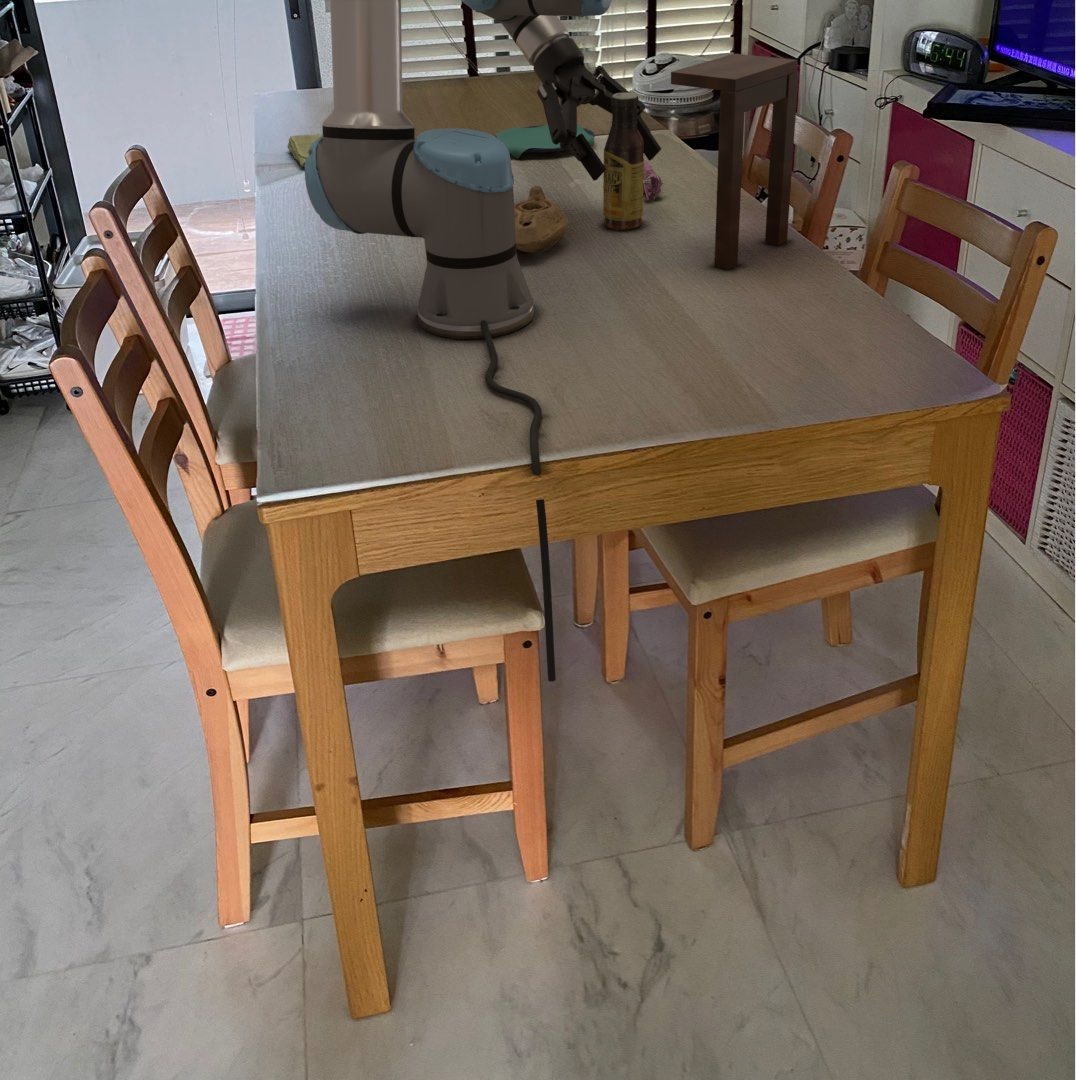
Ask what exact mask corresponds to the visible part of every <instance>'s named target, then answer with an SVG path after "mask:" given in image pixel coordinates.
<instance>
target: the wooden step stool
mask: <svg viewBox="0 0 1076 1080" xmlns="http://www.w3.org/2000/svg"><path fill="white" fill-rule="evenodd" d="M799 73H800V72H799V71H798V59H792V58H780V57H773V56H772V57H771V56H762V55H752V54H741V53H731V54H728V55H724V56H720V57H717V58H715V59H711V60H707V61H704V62H699V63H697V64H693V65H690V66H686V67H683V68H680V69H677V70H676V69H675V70H673V71H670V85H674V86H683V87H691V88H699V89H706V90H715V91H720V94H719V95H720V96H719V123H718V149H717V150H718V151H717V155H718V156H717V182H716V207H715V209H716V210H715V237H714V261H713V263H714V264H713V266H714V268H718V269H721V270H726V271H729V270H731V269H733V268H736V267H737V266H738V263H739V240H740V219H741V218H740V217H741V199H742V177H743V175H742V174H743V154H744V135H745V133H744V131H745V113H747V112H749V111H752V110H756V109H759V108H760V107H764V106H767V105H769V104H772V115H771V130H770V131H771V132H770V149H769V165H768V166H769V167H768V181H767V182H768V183H767V185H768V186H767V197H766V198H767V201H766V219H765V236H764V237H765V238H764V243H765V244H769V245H773V246H781V245H783V244H784V243H787V242H788V234H789V219H790V218H789V217H790V204H791V188H792V175H793V173H792V172H793V160H794V146H795V145H794V144H795V132H796V130H795V129H796V115H797V103H798V101H797V100H798V89H799Z"/></svg>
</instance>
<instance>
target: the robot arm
mask: <svg viewBox="0 0 1076 1080" xmlns="http://www.w3.org/2000/svg"><path fill="white" fill-rule="evenodd" d="M461 2H462V3H463V4H464V5H466V6H467V7H469V9H471V10H472V11H475V12H476V13H477V14H478V13H479V14H482V15H485V16H487V17H489V18H491V19H493V20H495V21H497V22H499V23H500V24H501V25H502V26H503V28H504V29H505V30H506V32H507V33H508V34H509V36H510V38H511V39H512V40H513V42H514V43H515V45H516V46H517V48H519V50H520V52H521V53H522V54H523V56H524V57H525V59H526V61H527V62H528V64H529V65H530V66H532V67H533V68H532V69H533V72H534V73H535V75H536V76H537V78H538V79H539V80H540V82H541V83H542V84H541V85H540V86H539V88H538V89H537V91H536V95H537V96H538V98H539V100H540V101H541V103H542V106H543V110H544V115H545V118H546V119H545V120H546V123H547V125H548V127H549V131H550V135H551V139H552V142H553V143H554V144H556V145H557V144H559V143H560V147H561V148H563V149H565V148H566V147H567V146H568V147H569V148H570V149H569V150H570V151H571V153H572V154H573V156H574V158H576V160H577V161H578V162H580V163H581V165H582V166H583V168H584V169H585V171H586V173H588V175H589V176H590V178H591V179H592V181H593V182H595V181H597V180H598V179H599V178H600V177H601V176H602V175H603V174H604V171H605V170H606V167H605V166H604V162H603V161H602V160H601V158H600V157H599V156H598V154H597V152H596V151H595V150H594V148H593V146H592V145H590V144H589V142H588V141H587V140H586V138H585V137H584V135H583V134H579V135H578V136H576V135H577V125H578V107H580V106H581V105H588V104H589V105H591V106H598V107H599V108H601V109H603V110H604V111H606V112H608V113H609V114H611V115H612V105H611V97H612V95H614V94H616V93H631V92H630V91H629V90H627V88H625V87H624V86H623V85H621V83H619V82H618V81H617V80H615V79H614V78H613V77H612V76H611V75H610V74H609V73H608V71H606V69H605V68H604V67H603V66H602V65H600V64H599V65H597V66H596V68H595V69H594V70H592V71H590V70H589V69H588V68H587V67H586V66H585V55H584V53H583V51H582V50H581V48H580V47H579V46H578V44H577V43H576V41H575V40H574V39H573V37H570V36H571V35H570V32H569V30H568V28H566V26H565V25H564V23H563V22H562V21H561V19H560V17H579V18H584V17H594V16H602V15H605V14H606V13H607V11H608V10H609V8H610V7H611V4H612V0H461ZM329 5H330V7H329V8H330V9H329V10H330V34H331V37H330V38H331V62H332V63H331V64H332V96H333V109H332V111H331V113H330V114H329V115H328V116H327V117H326V118H325V119H324V120H323V121H322V123H321V128H322V134H323V136H322V137H320V138H318V139H317V140H315V141H314V142H313V143H312V144H311V146H310V148H309V150H308V153H309V156H308V157H306V161H305V167H304V182H305V188H306V192H307V195H308V199H309V201H310V204H311V205H312V208H313V210H314V211H315V213H316V214H317V215H318V216H319V217H320V219H321V221H322V222H323V223H324V224H326V225H327V226H329V227H330V228H331V229H332V228H333V229H336V230H339V231H346V232H351V233H354V234H356V235H365V234H376V235H387V236H398V237H409V238H420V239H423V240H424V247H425V248H424V249H425V257H426V267H425V272H424V275H423V279H422V280H423V281H422V285H421V289H420V294H419V299H418V303H417V318H418V323H419V326H420V327H421V328H422V329H423V330H425V331H426V332H429V333H430V334H433V335H435V336H440V337H443V338H450V339H451V338H452V339H461V340H462V339H465V340H468V339H471V340H473V339H483V338H484V342H485V344H486V347H487V350H488V353H489V357H490V364H489V365H488V368H487V370H486V372H485V374H484V379H485V380H484V382H485V383H486V385H487V386H488V387H489V388H490V389H491V391H493V392H496V393H497V394H499V395H503V396H506V397H509V398H513V399H515V400H519V401H521V402H523V403H525V404H527V405H529V406H530V407H531V408H532V410H533V416H532V417H533V418H532V420H531V424H530V428H529V448H530V458H531V468H532V470H531V471H532V475H533V476H540V475H541V474H542V470H541V468H542V467H541V460H540V459H541V458H540V449H539V432H538V431H539V427H540V424H541V420H542V415H543V412H542V410H543V409H542V407H541V405H540V404H539V402H538V401H537V400H536V399H535V398H533V396H530V395H528V394H526V393H524V392H520V391H517V390H515V389H512V388H511V389H510V388H508V387H504V386H502V385H500V384H498V383H497V382H495V381H494V379H493V376H494V374H495V372H496V370H497V367H498V362H499V361H498V359H499V358H498V352H497V349H496V347H495V343H494V341H493V338H492V337H497V336H501V335H506V334H509V333H512V332H514V331H517V330H519V329H521V328H523V327H525V326H526V325H528V324H529V323H530V322H531V321H532V320H533V318H534V316H535V309H534V307H535V306H534V299H533V295H532V293H531V290H530V288H529V285H528V283H527V280H526V277H525V275H524V273H523V270H522V267H521V265H520V261H519V260H518V254H517V249H516V234H515V213H514V204H515V196H514V194H515V193H514V192H515V191H514V185H515V184H514V183H515V178H514V174H513V168H512V160H511V154H510V153H509V150H508V148H507V147H506V145H505V144H504V143H503V142H501V140H500V139H498V138H496V136H495V135H492V134H490V133H487V132H484V131H481V130H476V129H471V128H461V127H452V128H445V127H440V128H438V127H437V128H433V129H428V130H424V131H422V132H420V133H419V134H417V136H416V137H415V135H416V134H415V133H416V132H415V130H416V129H415V128H416V126H415V124H414V123H413V121H412V120H410V118H409V117H408V116H407V115H406V114H405V112H404V110H403V47H402V45H403V44H402V43H403V42H402V40H403V39H402V0H329ZM644 110H646V105H645V104H644V102H642V101H641V100H639V99H638V106H637V129H638V131H639V132H640V134H641V137H642V138H643V142H644V153H643V155H644V156H645V157H646V159H647V160H648V161H652V160H653V159H655V157H656V156H657V155H658V154H659V153H660V152H661V150H662V147H661V146H660V144H659V143H658V141H657V140H656V138H655V137H654V135H653V134H652V132H651V129H650V127H649V126H648V125H647V123H646V122H645V121H644V119H643V117H642V113H643V112H644ZM535 503H536V514H537V527H538V536H539V537H538V538H539V548H540V549H539V550H540V562H541V577H542V578H541V579H542V594H543V595H542V596H543V608H544V609H543V613H544V614H543V615H544V631H545V633H544V634H545V649H546V650H545V651H546V667H547V680H548V682H551V683H552V682H555V681H556V679H557V678H556V661H555V660H556V659H555V658H556V657H555V640H554V639H555V638H554V619H553V618H554V617H553V601H552V600H553V599H552V580H551V565H550V564H551V563H550V551H549V549H550V548H549V537H548V526H547V513H546V505H545V504H546V503H545V498H541V499H535Z"/></svg>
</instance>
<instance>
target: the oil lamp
mask: <svg viewBox="0 0 1076 1080" xmlns="http://www.w3.org/2000/svg"><path fill="white" fill-rule="evenodd" d="M528 192H529V194H528V195H529V197H528V199H526V200H522V201H519V202H516V203H514V213H515V234H516V250H518V251H521V252H524V253H540V252H544V251H547V250H549V249H550V248H552V247H554V245H555V244H557V242H559V240H560V239H562V238H563V237H564V236H565V235H566V233H567V231H568V228H569V220H568V219H569V218H568V216H567V215H565V213H564V212H563V211H562V210H561V209H560V208H559V207H558V205H556V204H555V203H554V202H553V201H551V200H548V199H547V198H546V194H545V192H544V191H543V189H542V186H541V185H534V186H531V187H530V188H529V191H528Z"/></svg>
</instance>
